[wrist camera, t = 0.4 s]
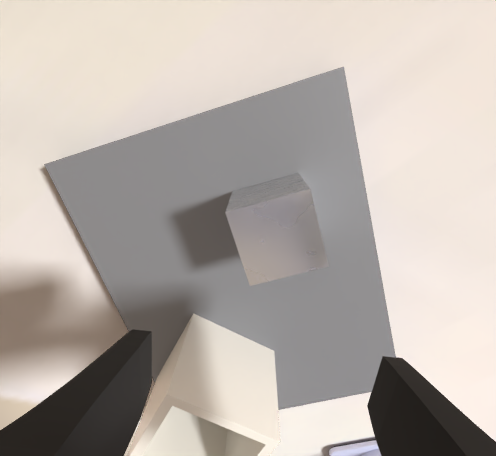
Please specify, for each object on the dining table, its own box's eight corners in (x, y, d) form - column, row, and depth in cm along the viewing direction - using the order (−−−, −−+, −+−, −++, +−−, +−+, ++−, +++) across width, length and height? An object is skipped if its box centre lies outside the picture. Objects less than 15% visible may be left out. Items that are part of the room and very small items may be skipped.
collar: (274, 351, 20) (280, 442, 14) (233, 408, 22) (224, 510, 16) (193, 313, 19) (166, 394, 14) (157, 376, 21) (120, 471, 15)
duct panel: (393, 372, 22) (400, 386, 21) (182, 414, 24) (178, 429, 23) (337, 70, 16) (343, 66, 14) (57, 161, 18) (44, 164, 16)
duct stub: (309, 226, 18) (328, 266, 14) (252, 242, 19) (249, 286, 14) (295, 168, 17) (310, 188, 12) (234, 186, 18) (225, 212, 13)
